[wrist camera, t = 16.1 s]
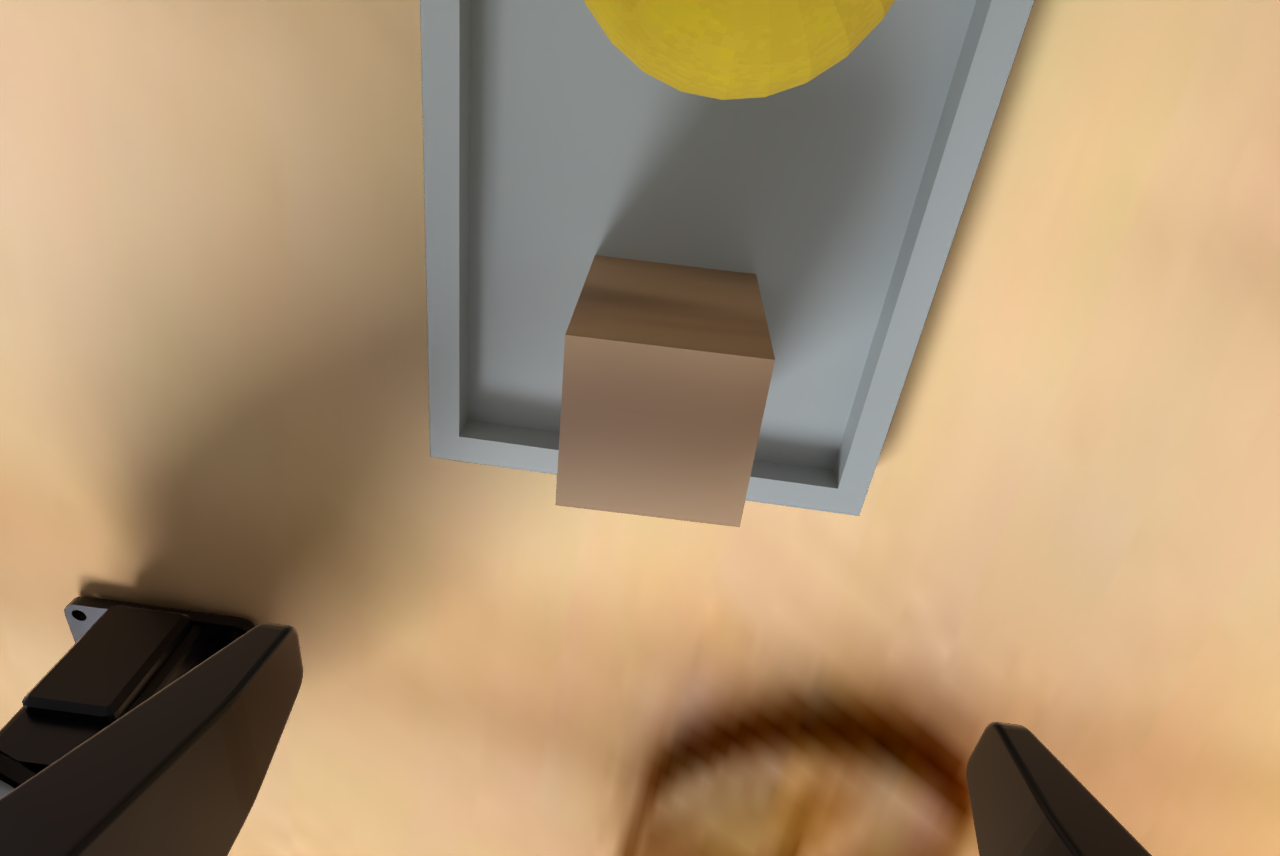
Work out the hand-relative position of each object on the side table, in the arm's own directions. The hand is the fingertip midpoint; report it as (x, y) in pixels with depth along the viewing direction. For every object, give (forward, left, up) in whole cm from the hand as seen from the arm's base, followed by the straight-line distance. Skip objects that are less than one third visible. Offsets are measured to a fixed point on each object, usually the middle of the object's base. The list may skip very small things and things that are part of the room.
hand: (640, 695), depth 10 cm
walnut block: (0, 0, -11) cm, 11 cm away
